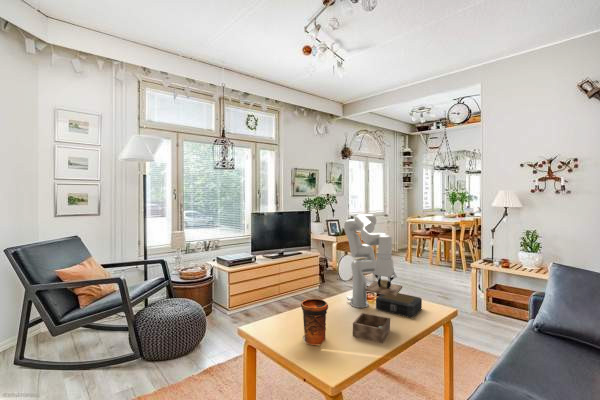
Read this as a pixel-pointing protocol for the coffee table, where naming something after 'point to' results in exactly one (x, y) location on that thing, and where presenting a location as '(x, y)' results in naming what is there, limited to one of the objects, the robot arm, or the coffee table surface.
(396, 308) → the cash box
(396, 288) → the lid
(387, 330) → the storage box
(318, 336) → the vessel
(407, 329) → the coffee table surface
